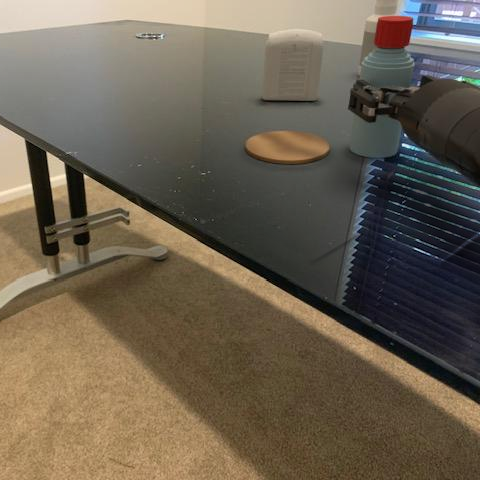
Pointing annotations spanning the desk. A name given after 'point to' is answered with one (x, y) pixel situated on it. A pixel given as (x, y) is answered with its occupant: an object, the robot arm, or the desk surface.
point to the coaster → (287, 147)
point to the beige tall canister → (383, 7)
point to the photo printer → (292, 65)
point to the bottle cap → (393, 31)
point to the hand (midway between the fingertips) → (390, 85)
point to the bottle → (387, 129)
